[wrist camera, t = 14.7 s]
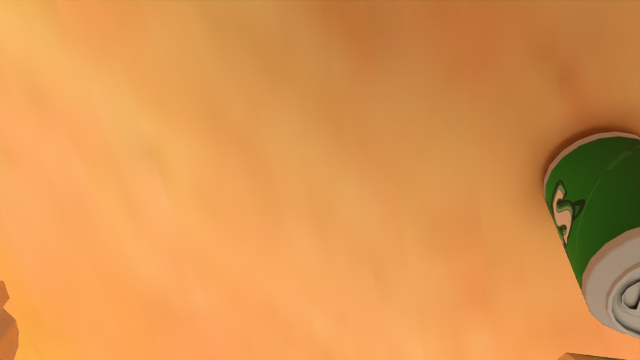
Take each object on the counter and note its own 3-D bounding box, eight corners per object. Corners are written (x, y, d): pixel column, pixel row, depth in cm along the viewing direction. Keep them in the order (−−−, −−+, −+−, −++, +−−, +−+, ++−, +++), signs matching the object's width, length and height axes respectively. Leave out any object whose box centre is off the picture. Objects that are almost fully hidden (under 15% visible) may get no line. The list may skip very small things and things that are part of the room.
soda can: (549, 122, 38) (608, 240, 28) (672, 123, 37) (778, 244, 27) (530, 216, 42) (576, 348, 32) (641, 219, 41) (723, 354, 31)
